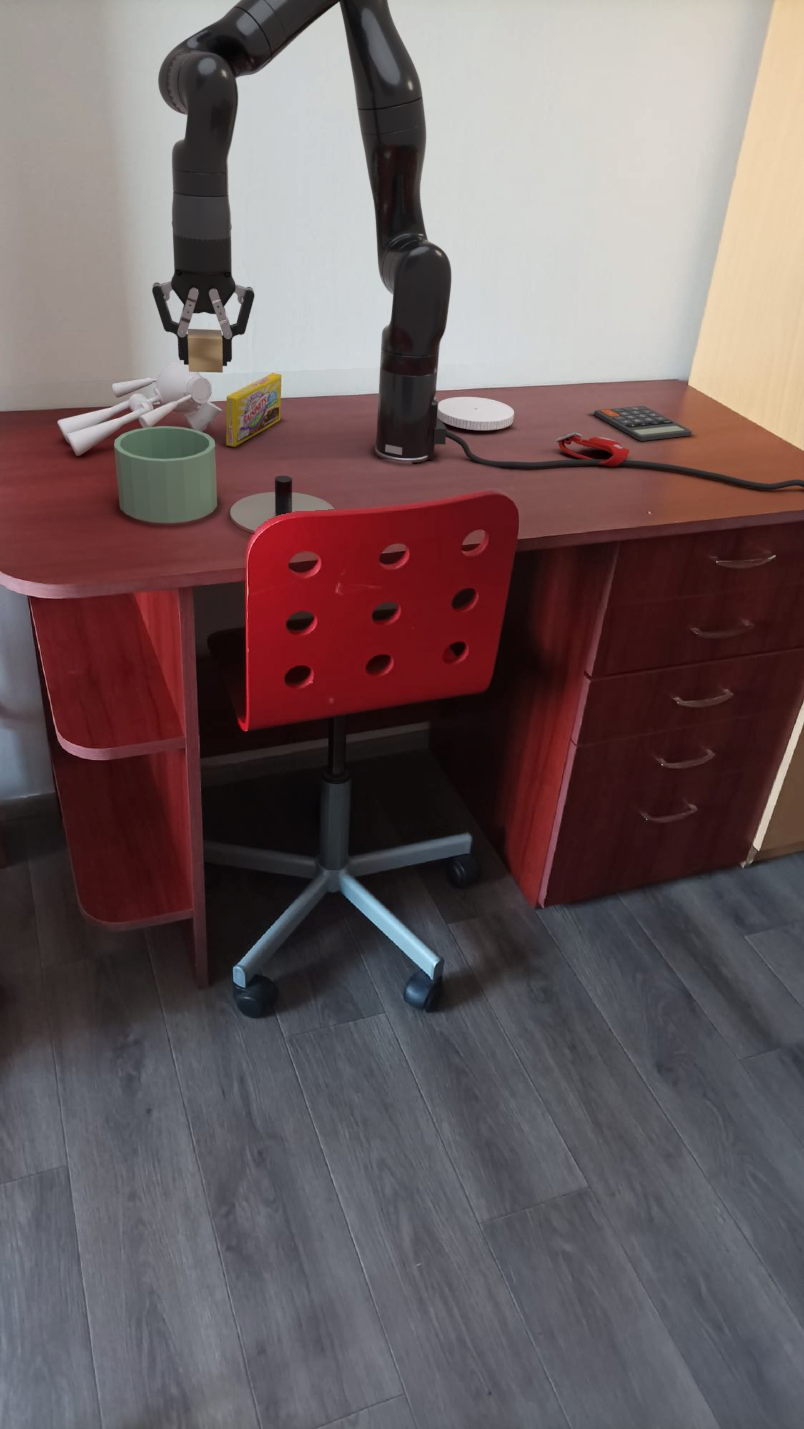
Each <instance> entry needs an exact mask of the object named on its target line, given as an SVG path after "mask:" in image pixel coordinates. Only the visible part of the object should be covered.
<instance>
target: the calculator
mask: <svg viewBox="0 0 804 1429" xmlns="http://www.w3.org/2000/svg"><path fill="white" fill-rule="evenodd" d="M593 415H594V416H596V417H597V418H598V419H601V420H602V421H604V422H606V423H607V424H609V425H611V426H613V427H615V428H617V430H620V431H622V432H624V433H625V434H627V435H629V436H630V437H632V438H634V439H636V440H637V441H641V442H644V441H652V440H662V439H669V438H670V439H671V438H679V437H680V438H681V437H688V436H692V432H693V431H692V430H691V429H689V428H687V427H686V426H683V425H681V424H680V423H677V422H676V421H674V420H672V419H670V418H669V417H666V416H664V415H663V414H660V413H658V412H657V411H655V410H652V409H651V408H649V407H647V406H645V405H637V406H627V407H617V408H605V409H595V410H594V412H593Z"/></svg>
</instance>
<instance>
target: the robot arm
mask: <svg viewBox="0 0 804 1429" xmlns="http://www.w3.org/2000/svg"><path fill="white" fill-rule="evenodd" d="M337 4H339V7H340V12H341V16H342V20H343V26H344V31H345V36H346V37H345V38H346V43H347V49H348V55H349V56H348V57H349V62H350V67H351V73H352V79H353V85H354V93H355V94H354V95H355V103H356V107H357V108H356V109H357V115H358V116H357V117H358V122H359V130H360V135H361V140H362V145H363V150H364V157H365V162H366V169H367V175H368V180H369V186H370V190H371V195H372V200H373V208H374V209H373V210H374V217H375V236H376V253H377V266H378V273H379V277H380V279H381V282H382V284H383V286H384V288H385V289H386V290H387V291H388V292H389V293H390V294H391V295H392V302H391V303H392V304H391V315H390V321H389V324H387V325H385V326H384V327H383V328H382V332H381V340H380V341H381V342H380V361H379V379H378V382H379V383H378V397H377V398H378V399H377V417H376V421H377V422H376V435H375V436H376V437H375V447H374V448H375V449H374V453H375V455H376V456H377V457H379V459H382V460H391V461H396V462H406V463H407V462H408V463H409V462H410V463H411V464H419V463H422V462H426V461H434V458H435V447H436V446H435V445H446V441H447V440H446V439H449V440H452V441H453V442H455V443H457V444H458V445H459V446H461V448H462V451H463V452H464V454H465V457H467V459H469V460H470V461H472V462H474V463H476V464H480V465H485V466H488V467H489V466H490V467H494V468H500V469H501V468H503V469H506V468H507V469H545V468H546V469H547V468H555V467H577V466H579V467H580V466H581V467H582V466H583V467H584V466H601V465H600V464H599V462H600V461H606V460H608V459H609V458H594V459H560V460H559V459H557V460H547V461H499V460H498V461H497V460H489V459H485V458H481V457H479V456H477V455H475V454H474V453H473V452H472V451H471V449H470V446H469V445H468V443H467V442H466V441H465V440H464V439H463V438H461V437H460V436H458V435H457V434H455V433H453V432H451V431H448V429H447V427H446V425H445V423H444V422H443V421H442V420H440V419H438V417H437V412H438V403H439V402H438V400H437V398H436V397H437V395H436V394H437V385H438V384H437V383H438V372H439V359H440V358H439V357H440V350H441V341H442V339H443V337H444V335H445V332H446V328H447V324H448V316H449V308H450V307H449V306H450V300H451V291H452V278H453V277H452V267H451V261H450V259H449V257H448V255H447V253H446V252H445V251H444V250H443V249H442V248H441V247H440V246H438V245H437V244H435V243H433V242H431V241H429V238H428V235H427V230H426V226H425V220H424V214H423V209H422V200H421V185H422V184H421V183H422V176H423V169H424V164H425V158H426V151H427V150H426V149H427V123H426V122H427V121H426V112H425V105H424V96H423V90H422V83H421V79H420V77H419V74H418V71H417V68H416V66H415V63H414V61H413V60H412V57H411V55H410V53H409V51H408V49H407V47H406V45H405V43H404V41H403V39H402V37H401V36H400V33H399V31H398V29H397V27H396V25H395V22H394V19H393V17H392V13H391V10H390V6H389V1H388V0H239V1H238V2H237V3H236V4H235V5H234V6H232V7H231V8H230V9H229V10H228V11H227V12H226V14H224V15H223V16H222V17H221V18H220V19H218V20H216V21H214V22H213V23H210V24H209V25H207V26H205V27H204V28H202V29H200V30H199V31H197V32H195V33H194V34H191V35H190V36H189V37H187V38H185V39H184V40H183V41H181V42H180V43H177V45H176V46H175V47H173V48H172V49H171V51H169V52H168V54H167V55H166V56H165V58H164V59H163V61H162V63H161V65H160V66H159V67H160V68H159V72H158V78H157V84H158V91H159V94H160V96H161V98H162V100H163V101H164V102H165V104H166V105H167V106H168V108H170V109H171V110H173V111H175V112H177V113H179V114H181V115H184V116H186V124H185V131H184V132H185V133H184V137H183V138H182V139H180V140H178V141H176V142H175V143H174V145H173V147H172V149H171V151H172V152H171V175H172V176H171V177H172V203H171V227H172V248H173V249H172V250H173V269H174V270H173V275H172V277H171V280H170V281H167V282H162V283H160V282H154V283H153V284H152V287H151V288H152V289H151V292H152V296H153V299H154V301H155V305H156V308H157V312H158V315H159V319H160V321H161V324H162V328H163V331H165V332H167V333H171V334H174V335H175V336H176V338H177V355H178V359H179V361H184V365H189V359H188V329H189V326H190V323H191V320H192V318H193V314H198V315H199V314H204V313H205V314H208V315H216V318H217V322H218V324H219V327H220V330H221V331H222V354H223V367H228V363H231V362H232V360H233V338H234V337H236V336H243V335H244V334H245V333H246V331H247V327H248V322H249V318H250V315H251V311H252V308H253V304H254V300H255V291H254V288H253V287H251V286H247V287H245V286H242V285H239V284H236V281H235V279H234V277H233V270H232V269H233V266H232V265H233V264H232V260H233V258H232V228H233V226H232V211H231V205H230V194H229V155H230V151H231V146H232V143H233V138H234V131H235V126H236V122H237V116H238V109H239V87H238V83H237V79H238V78H240V77H244V76H252V75H255V74H257V73H259V72H260V71H262V70H263V69H264V68H266V67H267V66H268V65H269V64H270V63H271V62H272V61H273V60H274V59H276V58H277V57H278V56H279V55H280V54H281V53H283V51H284V50H285V49H286V48H287V47H288V46H290V44H292V42H294V41H295V40H297V38H298V37H299V36H300V35H302V33H304V32H305V31H306V30H307V29H308V28H309V27H310V26H311V25H313V24H314V23H315V22H317V20H318V19H320V18H321V17H322V16H323V15H324V14H326V13H327V12H328V11H329V10H331V9H332V8H333V7H335V6H336V5H337ZM171 291H173V292H174V293H175V295H176V296H177V298H178V299H179V301H180V302H181V303H182V305H183V306H182V309H181V314H180V317H179V321H178V322H177V321H174V320H173V319H172V315H171V312H170V309H169V305H168V301H169V300H170V298H171ZM234 294H236V297H237V298H236V299H237V302H238V304H240V308H239V312H238V314H237V319H236V323H235V322H234V323H232V324H231V323H230V320H229V316H228V314H227V311H226V308H225V306H226V304H227V303H228V302H229V301H230V299H231V297H232V296H233V295H234ZM617 466H618V467H634V468H644V469H654V470H662V471H668V472H674V473H681V474H685V475H690V476H691V475H692V476H695V477H701V478H706V479H711V480H715V481H720V482H725V483H729V484H732V485H736V486H740V487H744V488H748V489H749V488H750V489H755V490H763V491H773V490H779V489H780V490H781V489H784V488H790V487H802V488H803V489H804V479H790V480H785V481H780V482H774V483H773V482H772V483H764V482H763V483H762V482H756V481H751V480H746V479H740V478H739V477H738V478H736V477H734V476H730V475H725V474H721V473H717V472H712V471H706V470H701V469H696V468H693V467H692V468H691V467H686V466H682V465H681V466H680V465H674V464H669V463H662V462H653V461H645V460H644V461H643V460H642V461H641V460H633V459H631V460H630V459H625V460H624V461H623V462H622V463H620V464H619V465H617ZM617 466H616V467H617Z"/></svg>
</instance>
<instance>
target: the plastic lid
mask: <svg viewBox="0 0 804 1429" xmlns="http://www.w3.org/2000/svg"><path fill="white" fill-rule="evenodd" d="M514 418H515V411H514V409H513V408H512V407H511V406H510V405H508V404H506V403H504V402H501V401H498V400H494V399H491V398H487V397H486V398H484V397H477V396H456V397H448V398H446V399H442V400H440V401H439V402H438V412H437V419H438V420H441V421H442V422H443V424H447V425H449V426H453V427H456V428H460V429H466V430H473V431H495V430H501V429H505V428H508V427H510V426H511V425H512V424H513V423H514Z"/></svg>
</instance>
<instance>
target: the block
mask: <svg viewBox="0 0 804 1429" xmlns="http://www.w3.org/2000/svg"><path fill="white" fill-rule="evenodd" d="M187 334H188V359H189V372H199V373H219V374H220V373H224V366H223V354H222V335H223V333H222V330H221V329H208V328H207V329H205V328H204V329H203V328H188V330H187Z"/></svg>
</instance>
